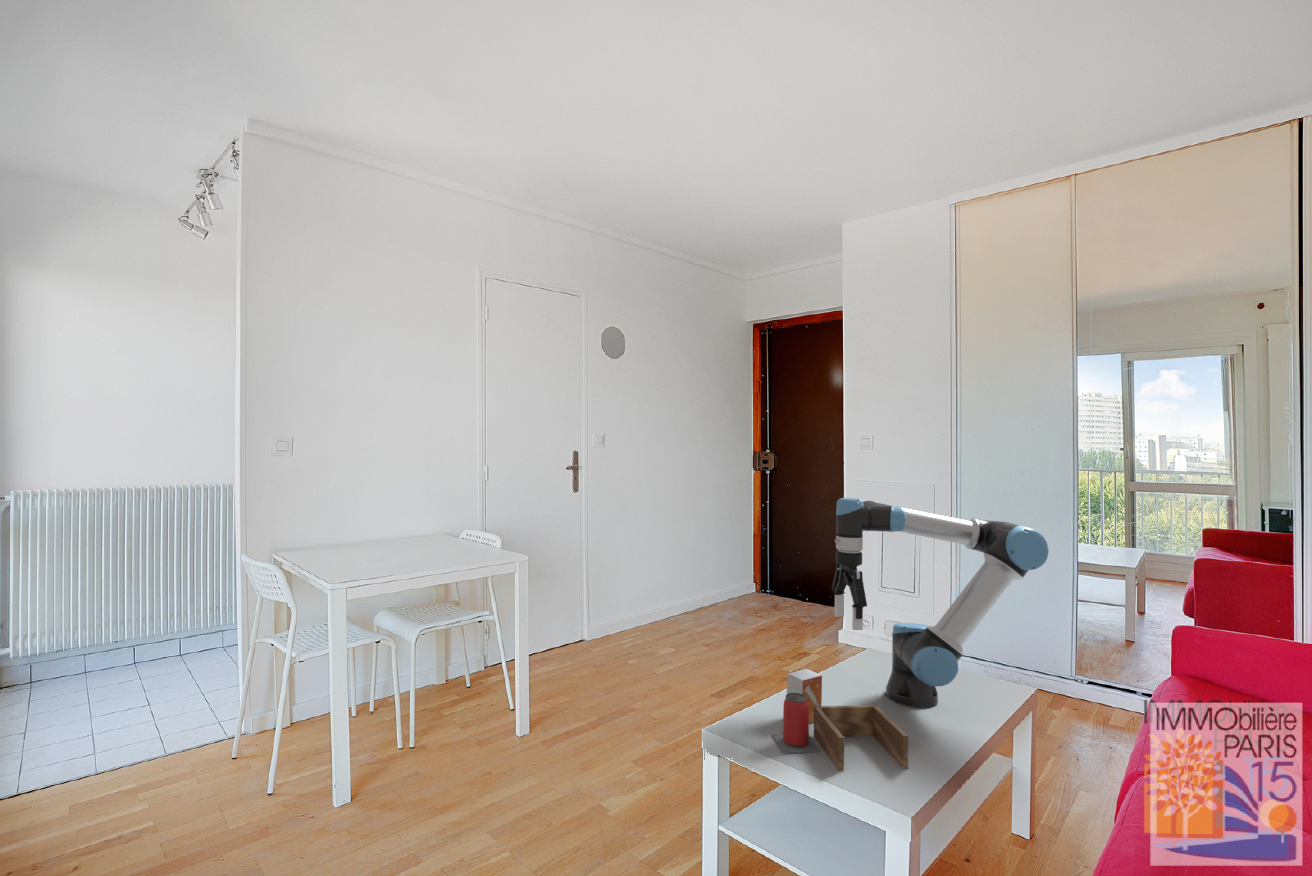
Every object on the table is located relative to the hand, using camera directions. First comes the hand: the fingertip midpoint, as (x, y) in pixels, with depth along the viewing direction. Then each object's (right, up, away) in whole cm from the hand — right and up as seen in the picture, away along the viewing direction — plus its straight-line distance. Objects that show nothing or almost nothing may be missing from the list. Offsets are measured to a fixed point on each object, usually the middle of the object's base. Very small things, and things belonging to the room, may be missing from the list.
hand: (848, 622), depth 186 cm
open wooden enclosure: (-4, -27, -24) cm, 36 cm away
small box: (-14, -27, -4) cm, 30 cm away
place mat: (-20, -26, -19) cm, 38 cm away
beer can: (-20, -26, -19) cm, 38 cm away
